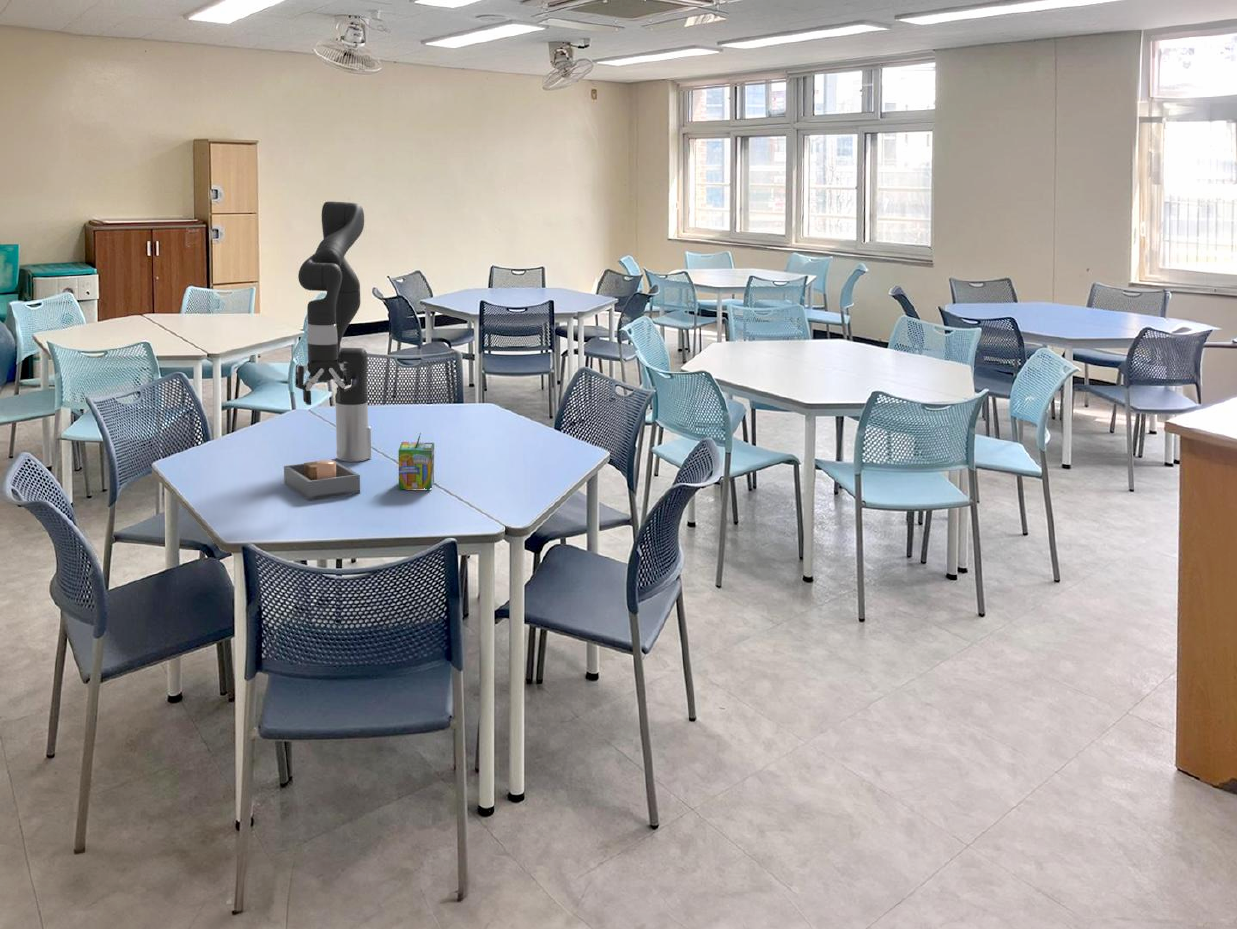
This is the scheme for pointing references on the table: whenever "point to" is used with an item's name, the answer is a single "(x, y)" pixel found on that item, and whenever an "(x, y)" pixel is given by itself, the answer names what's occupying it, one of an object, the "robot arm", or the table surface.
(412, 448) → the juice box
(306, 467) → the walnut cube
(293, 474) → the charcoal tote
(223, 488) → the table surface
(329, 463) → the terracotta cylinder
